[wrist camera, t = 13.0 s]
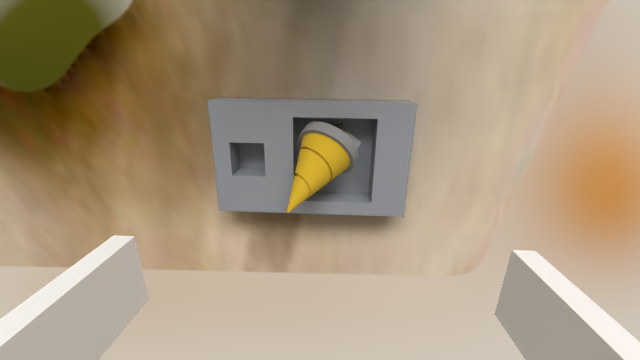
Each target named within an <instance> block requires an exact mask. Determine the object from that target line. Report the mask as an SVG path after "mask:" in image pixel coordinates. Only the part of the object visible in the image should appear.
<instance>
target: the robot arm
mask: <svg viewBox="0 0 640 360" xmlns="http://www.w3.org/2000/svg"><path fill="white" fill-rule="evenodd" d="M147 300H148V294H147V290H146V285H145V281H144V276H143V272H142V267H141V263H140V258H139V253H138V249H137V244H136V240H135V236H112V237H111V238H110V239H108V240H107V241H106V242H104V243H103V244H102V245H100V246H99V247H97V248H96V249H95V250H93V251H92V252H91V253H89V254H88V255H87V256H85V257H84V258H83V259H81V260H80V261H78V262H77V263H76V264H74V265H73V266H72V267H70V268H69V269H68V270H66V271H65V272H64V273H62V274H61V275H60V276H58V277H57V278H56V279H54V280H53V281H51V282H50V283H49V284H47V285H46V286H45V287H43V288H42V289H41V290H39V291H38V292H36V293H35V294H34V295H32V296H31V297H30V298H28V299H27V300H26V301H24V302H23V303H22V304H20V305H19V306H17V307H16V308H15V309H13V310H12V311H11V312H9V313H8V314H7V315H5V316H4V317H2V318H1V319H0V360H99V359H100V358H101V356H102V355H103V354H104V353H105V352H106V350H107V349H108V348H109V347H110V345H111V344H112V343H113V342H114V341H115V339H116V338H117V337H118V336H119V334H120V333H121V332H122V331H123V330H124V328H125V327H126V326H127V325H128V323H129V322H130V321H131V320H132V319H133V317H134V316H135V315H136V314H137V313H138V311H139V310H140V309H141V307H142V306H143V305H144V304H145V303H146V302H147ZM495 315H496V317H497V318H498V320H499V321H500V323H501V324H502V326H503V327H504V328H505V330H506V331H507V333H508V334H509V336H510V337H511V339H512V340H513V342H514V343H515V345H516V346H517V348H518V349H519V350H520V352H521V354H522V355H523V357H524V358H525V359H526V360H640V342H639V341H638V340H637V339H635V338H634V337H633V336H632V335H631V334H630V333H629V332H627V331H626V330H625V329H624V328H623V327H622V326H621V325H619V324H618V323H617V322H616V321H615V320H614V319H613V318H611V317H610V316H609V315H608V314H607V313H606V312H605V311H603V310H602V309H601V308H600V307H599V306H598V305H597V304H595V303H594V302H593V301H592V300H591V299H590V298H589V297H587V296H586V295H585V294H584V293H583V292H581V291H580V290H579V289H578V288H577V287H576V286H575V285H574V284H572V283H571V282H570V281H569V280H568V279H567V278H565V277H564V276H563V275H562V274H561V273H560V272H559V271H557V270H556V269H555V268H554V267H553V266H552V265H551V264H550V263H548V262H547V261H546V260H545V259H544V258H543V257H541V256H540V255H539V254H538V253H537V252H536V251H523V250H512V253H511V256H510V260H509V264H508V267H507V271H506V275H505V278H504V282H503V286H502V289H501V293H500V297H499V300H498V304H497V308H496V311H495Z"/></svg>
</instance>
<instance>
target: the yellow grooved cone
mask: <svg viewBox="0 0 640 360" xmlns="http://www.w3.org/2000/svg"><path fill="white" fill-rule="evenodd" d="M344 124H345V123H339V124H328V123H324V122H311V123H309V124H307V125H306V126H305V128H304V129H303V131H302V132H301V133H300V135H299V138H298V141H299V145H300V152H299V156H298V161H297V166H296V170H295V174H296V175H297V176H294V180H293V184H292V189H291V193H290V198H289V201H290V203H289V204H288V207H287V213H289V212H290V211H291V210H293V209H294V208H295V207H297V206H298V205H299V204H301V203H302V202H303V201H305V200H306V199H307V198H309V197H310V196H311V195H313V194H314V193H315V192H317V191H318V190H319V189H321V188H322V187H323V186H325V185H326V184H327V183H329V182H330V181H331V180H333V179H334V178H335V177H337V176H338V175H339V174H341V173H348V172H350V171H351V170H352V169H353V167H354V166H355V164H356V162H357V160H358V158H359V152H358V147H359V145H360V144H361V142H360V141H359V140H358V139H357V138H355V137H354V136H353V135H352V134H350V133H349V132H348V131H347V130H345V129H344V128H343V126H344Z"/></svg>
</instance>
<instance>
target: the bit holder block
mask: <svg viewBox="0 0 640 360" xmlns="http://www.w3.org/2000/svg"><path fill="white" fill-rule="evenodd" d="M207 102H208V111H209V120H210V129H211V138H212V147H213V156H214V166H215V175H216V184H217V193H218V202H219V211H243V212H273V213H287V207H288V204H289V203H290V201H289V198H290V193H291V189H292V184H293V180H294V176H297V175H296V174H295V170H296V166H297V161H298V156H299V152H300V145H299V141H298V138H299V135H300V133H301V132H302V131H303V129H304V128H305V126H306V125H307V124H309V123H311V122H324V123H328V124H339V123H345V124H344V126H343V128H344V129H345V130H347V131H348V132H349V133H350V134H352V135H353V136H354V137H355V138H357V139H358V140H359V141H360V142H361V144H360V145H359V147H358V152H359V158H358V160H357V162H356V164H355V166H354V167H353V169H352V170H351V171H350V172H348V173H341V174H339V175H338V176H337V177H335V178H334V179H333V180H331V181H330V182H329V183H327V184H326V185H325V186H323V187H322V188H321V189H319V190H318V191H317V192H315V193H314V194H313V195H311V196H310V197H309V198H307V199H306V200H305V201H303V202H302V203H301V204H299V205H298V206H297V207H295V208H294V209H293V210H291V211H290V212H289V213H303V214H334V215H364V216H394V217H404V209H405V200H406V192H407V184H408V175H409V167H410V159H411V150H412V142H413V134H414V125H415V117H416V109H417V104H416V103H413V102H410V101H394V100H338V99H282V98H226V97H220V98H215V99H210V100H207Z"/></svg>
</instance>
